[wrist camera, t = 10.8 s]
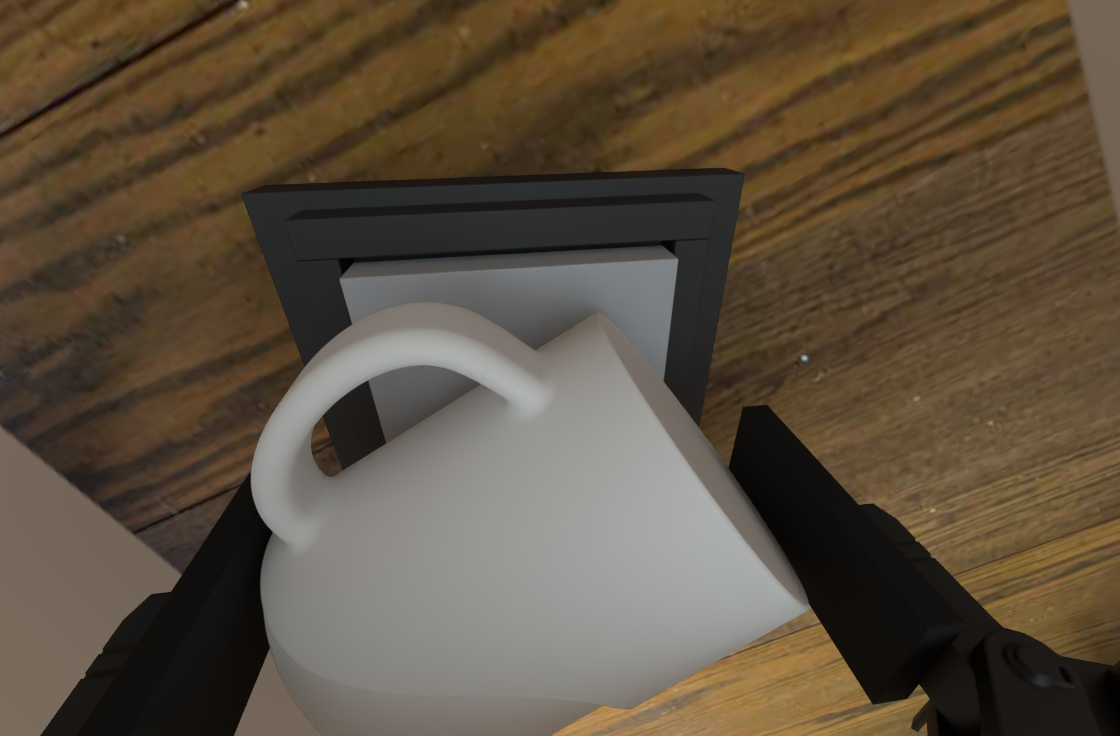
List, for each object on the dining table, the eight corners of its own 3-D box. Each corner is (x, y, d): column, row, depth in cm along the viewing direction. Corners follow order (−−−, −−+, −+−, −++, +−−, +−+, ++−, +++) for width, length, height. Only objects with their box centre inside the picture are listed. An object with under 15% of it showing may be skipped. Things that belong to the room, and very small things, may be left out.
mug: (713, 441, 16) (871, 679, 10) (522, 563, 19) (542, 829, 12) (490, 168, 11) (495, 283, 4) (250, 391, 13) (-15, 716, 6)
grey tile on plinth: (413, 490, 19) (407, 519, 18) (353, 262, 14) (338, 278, 12) (640, 466, 20) (650, 491, 19) (662, 244, 15) (678, 258, 14)
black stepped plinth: (366, 488, 22) (349, 539, 19) (263, 185, 15) (215, 201, 12) (678, 455, 23) (701, 498, 21) (724, 167, 16) (767, 179, 14)
